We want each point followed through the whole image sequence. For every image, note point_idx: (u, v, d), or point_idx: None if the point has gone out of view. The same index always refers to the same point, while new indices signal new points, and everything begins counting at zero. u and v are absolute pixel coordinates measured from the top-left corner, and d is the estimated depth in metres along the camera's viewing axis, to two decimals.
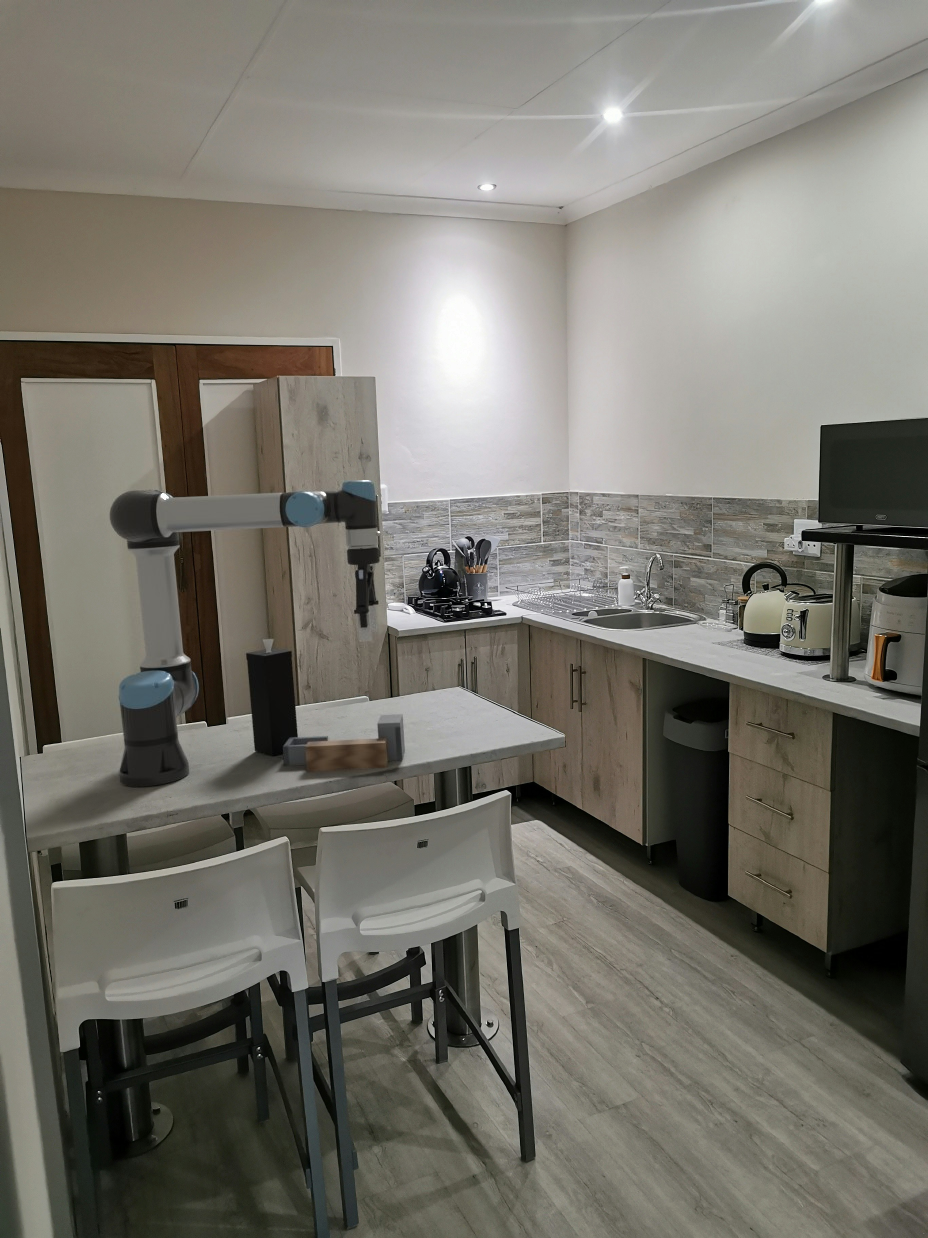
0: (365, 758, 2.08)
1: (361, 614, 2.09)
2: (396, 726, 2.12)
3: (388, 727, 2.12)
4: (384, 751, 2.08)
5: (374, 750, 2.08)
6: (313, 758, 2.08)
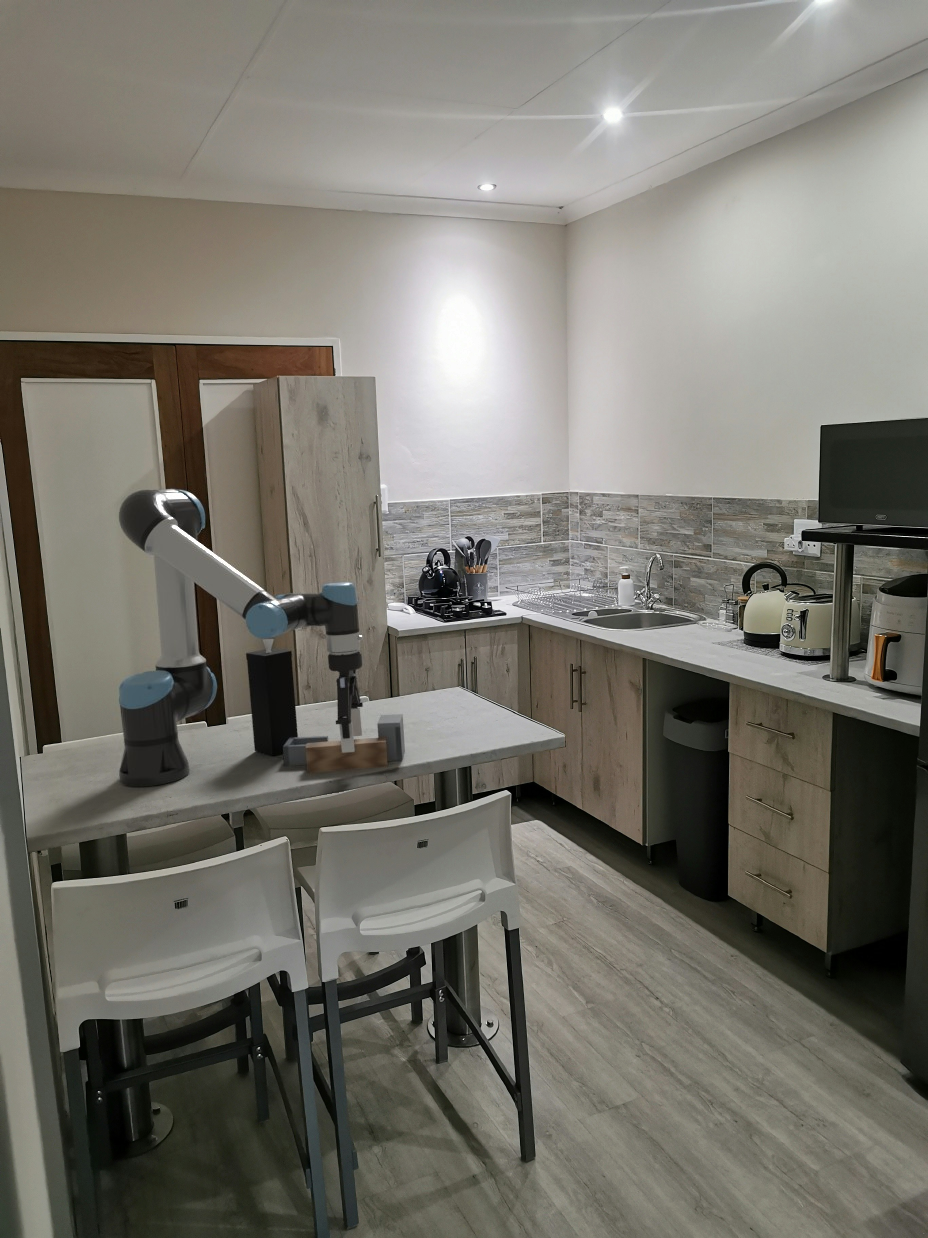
0: (366, 758, 2.08)
1: (343, 725, 2.00)
2: (396, 726, 2.12)
3: (388, 727, 2.12)
4: (385, 750, 2.08)
5: (375, 749, 2.08)
6: (313, 759, 2.07)
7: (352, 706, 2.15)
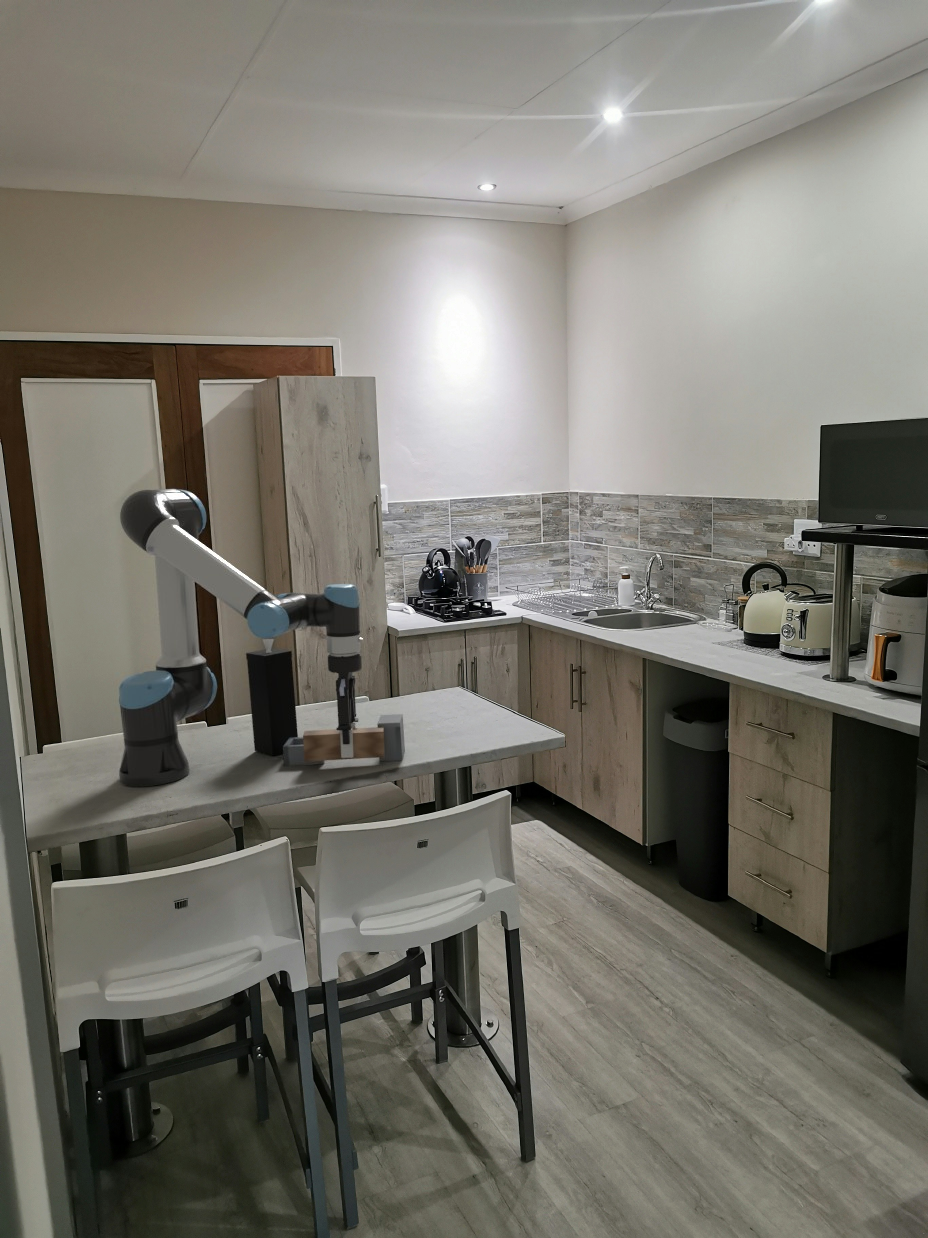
0: (363, 747, 2.08)
1: (343, 731, 2.05)
2: (396, 726, 2.12)
3: (388, 727, 2.12)
4: (382, 740, 2.08)
5: (372, 739, 2.08)
6: (310, 747, 2.07)
7: None
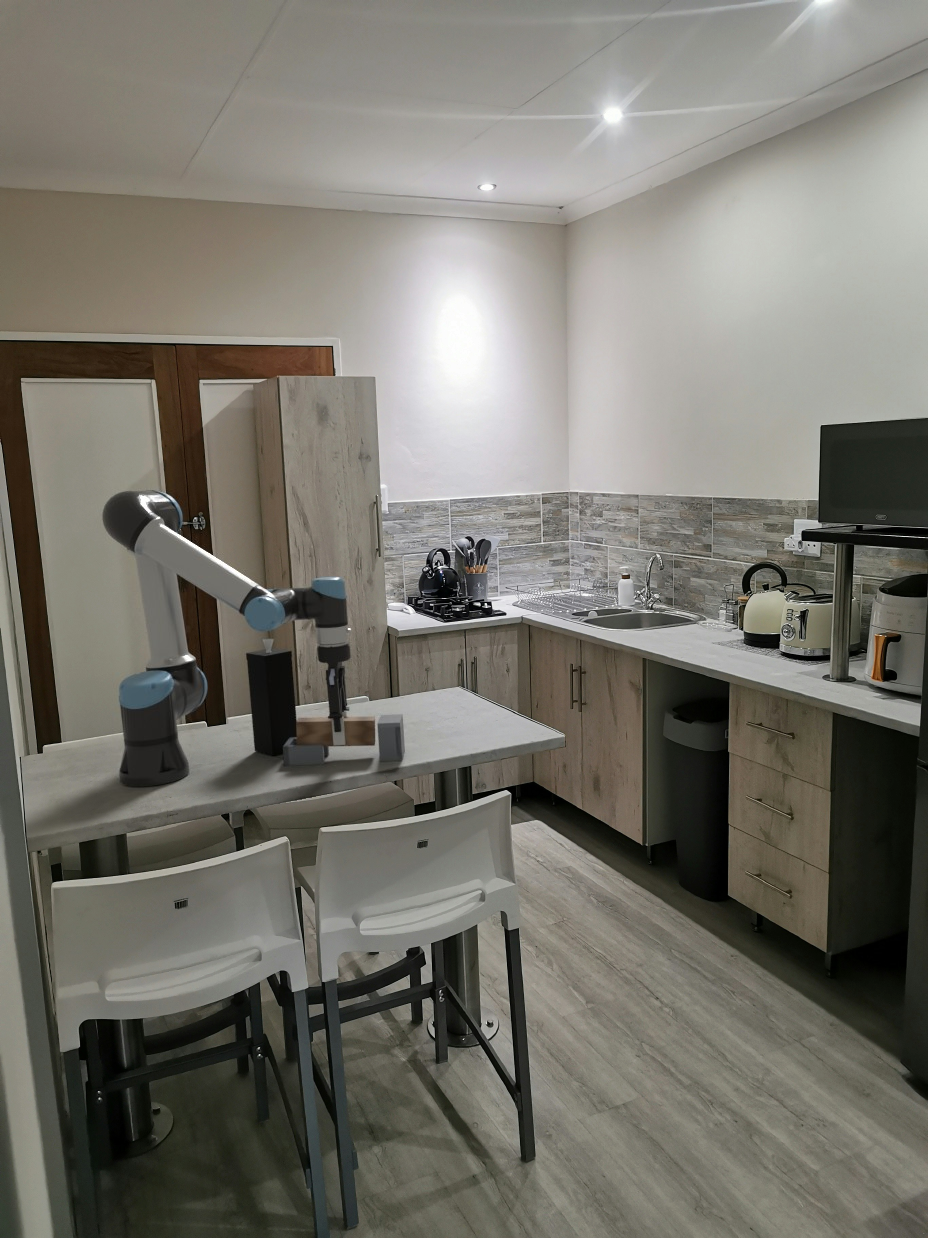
0: (354, 735, 2.14)
1: (335, 719, 2.12)
2: (396, 726, 2.12)
3: (388, 727, 2.12)
4: (373, 729, 2.14)
5: (363, 727, 2.14)
6: (303, 734, 2.14)
7: None
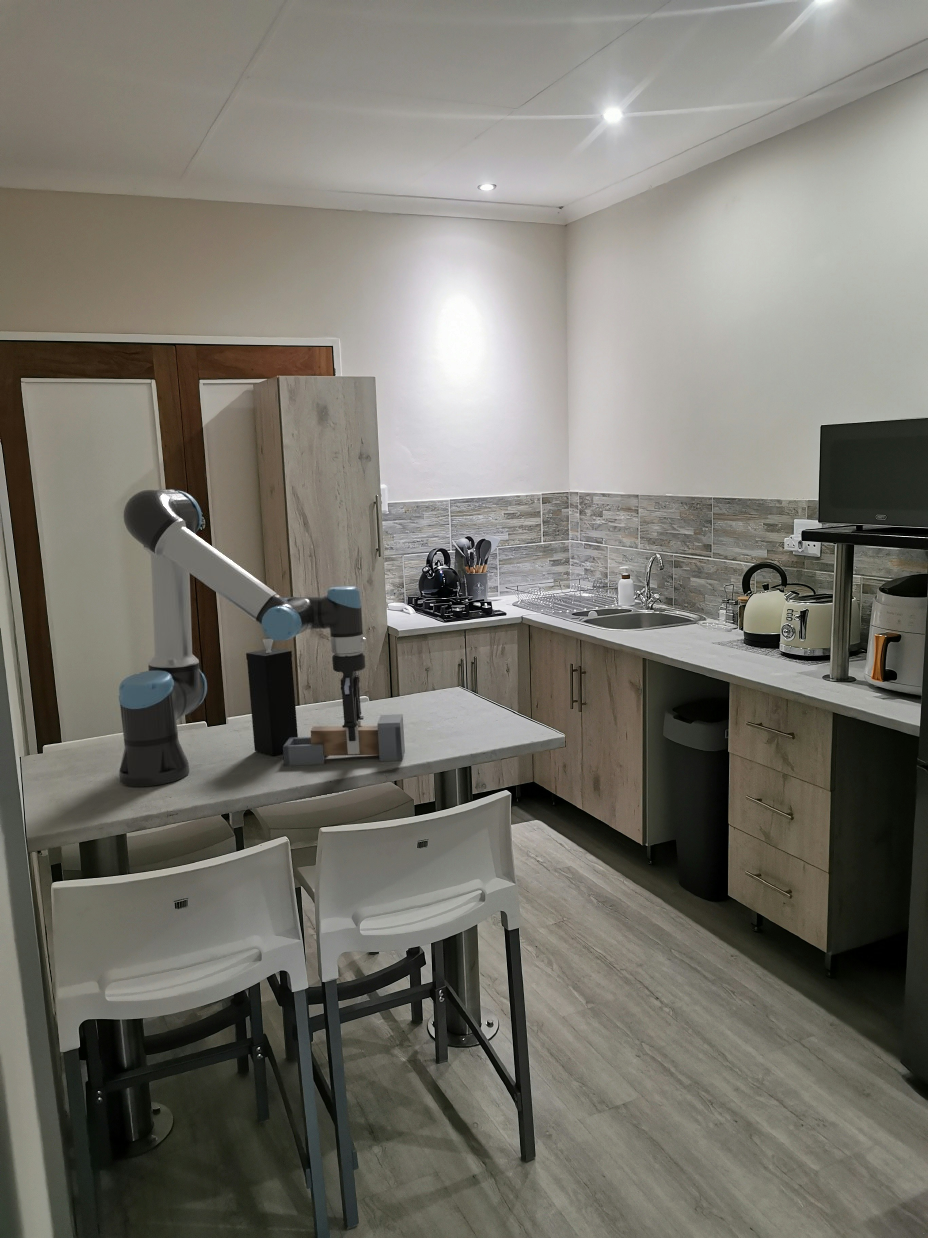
0: (368, 744, 2.15)
1: (349, 728, 2.12)
2: (396, 726, 2.12)
3: (388, 727, 2.12)
4: None
5: (377, 737, 2.15)
6: (317, 742, 2.14)
7: None
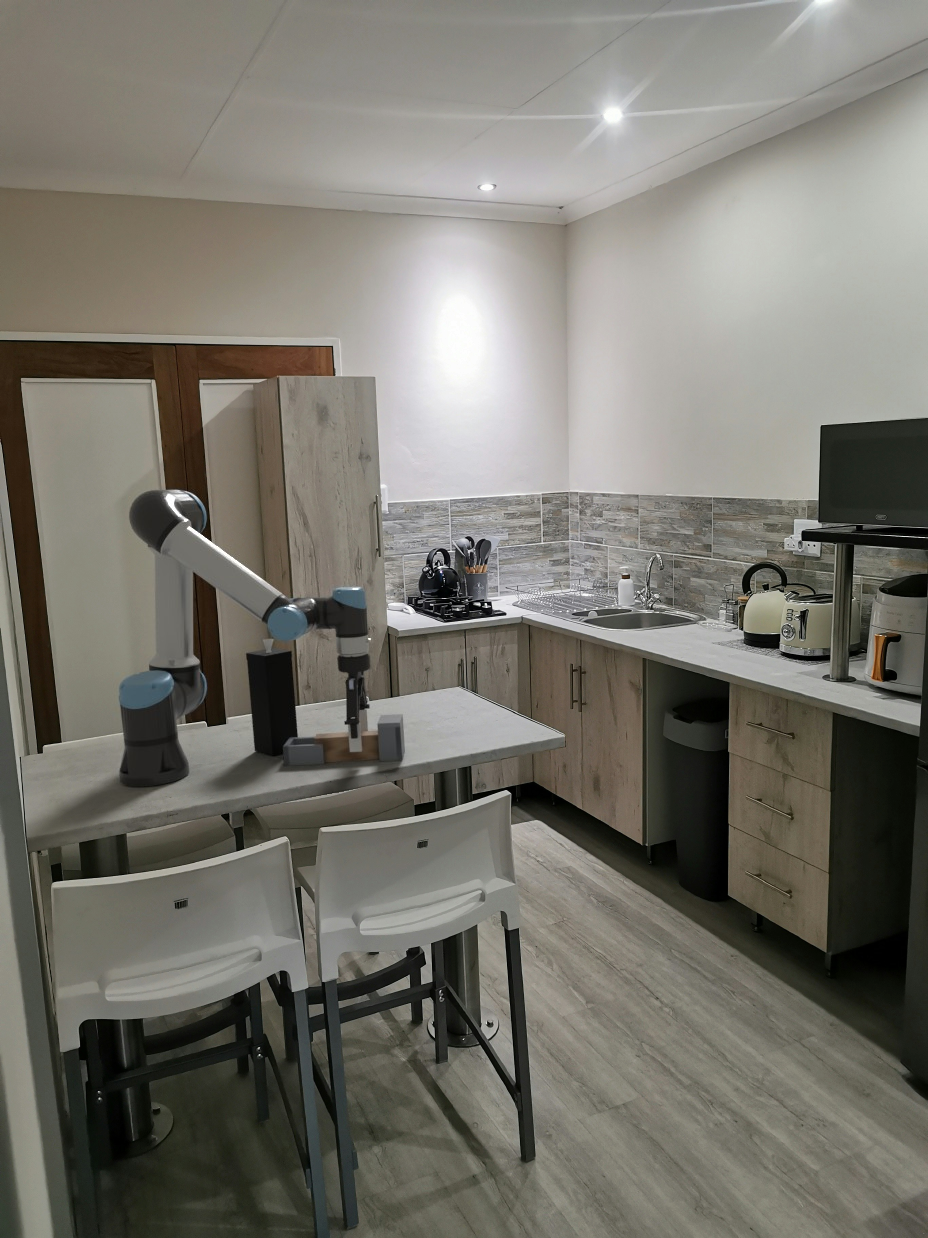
0: (373, 749, 2.15)
1: (351, 725, 2.08)
2: (396, 726, 2.12)
3: (388, 727, 2.12)
4: None
5: None
6: None
7: (359, 707, 2.22)
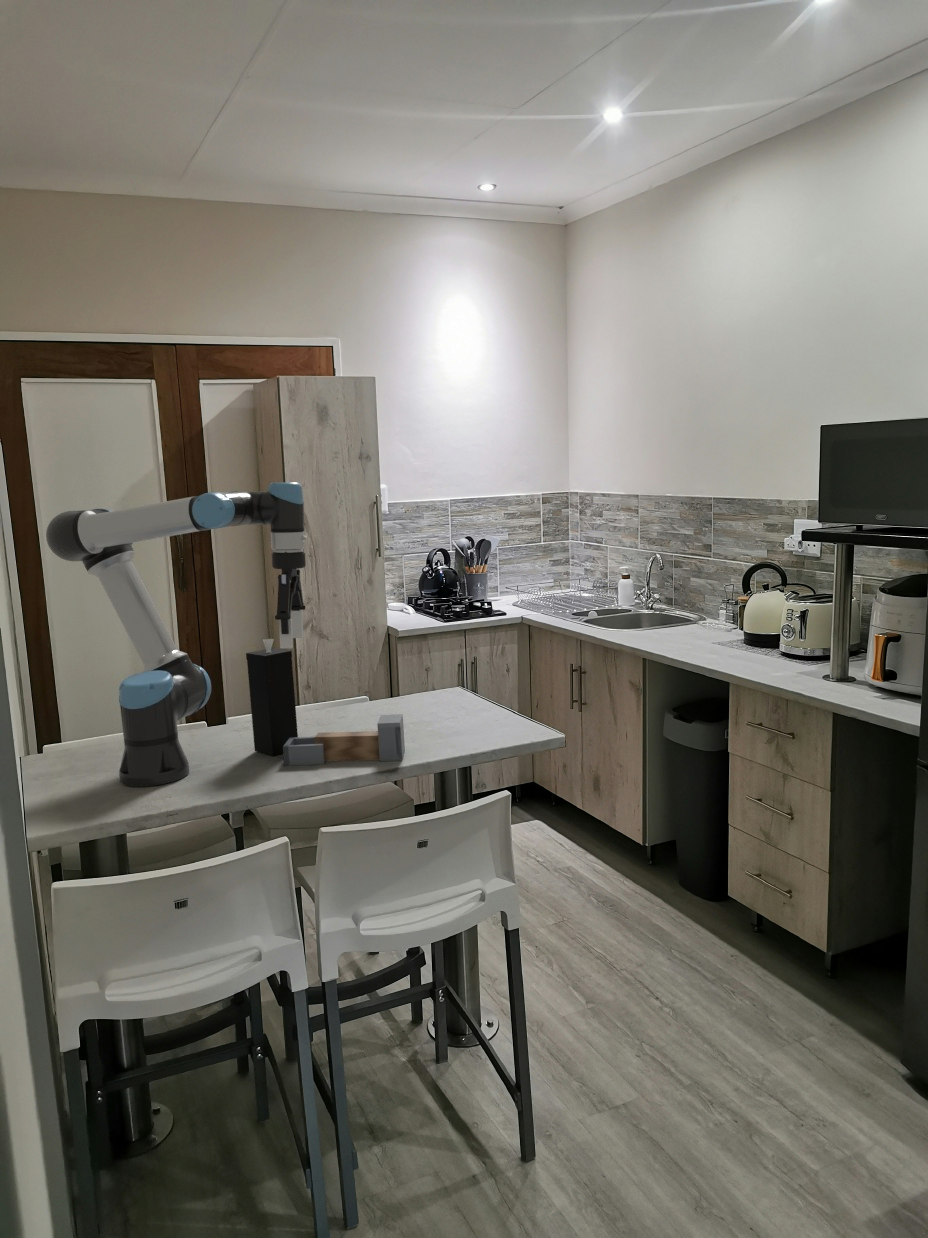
0: (371, 750, 2.14)
1: (282, 620, 2.03)
2: (396, 726, 2.12)
3: (388, 727, 2.12)
4: None
5: None
6: None
7: (295, 608, 2.18)
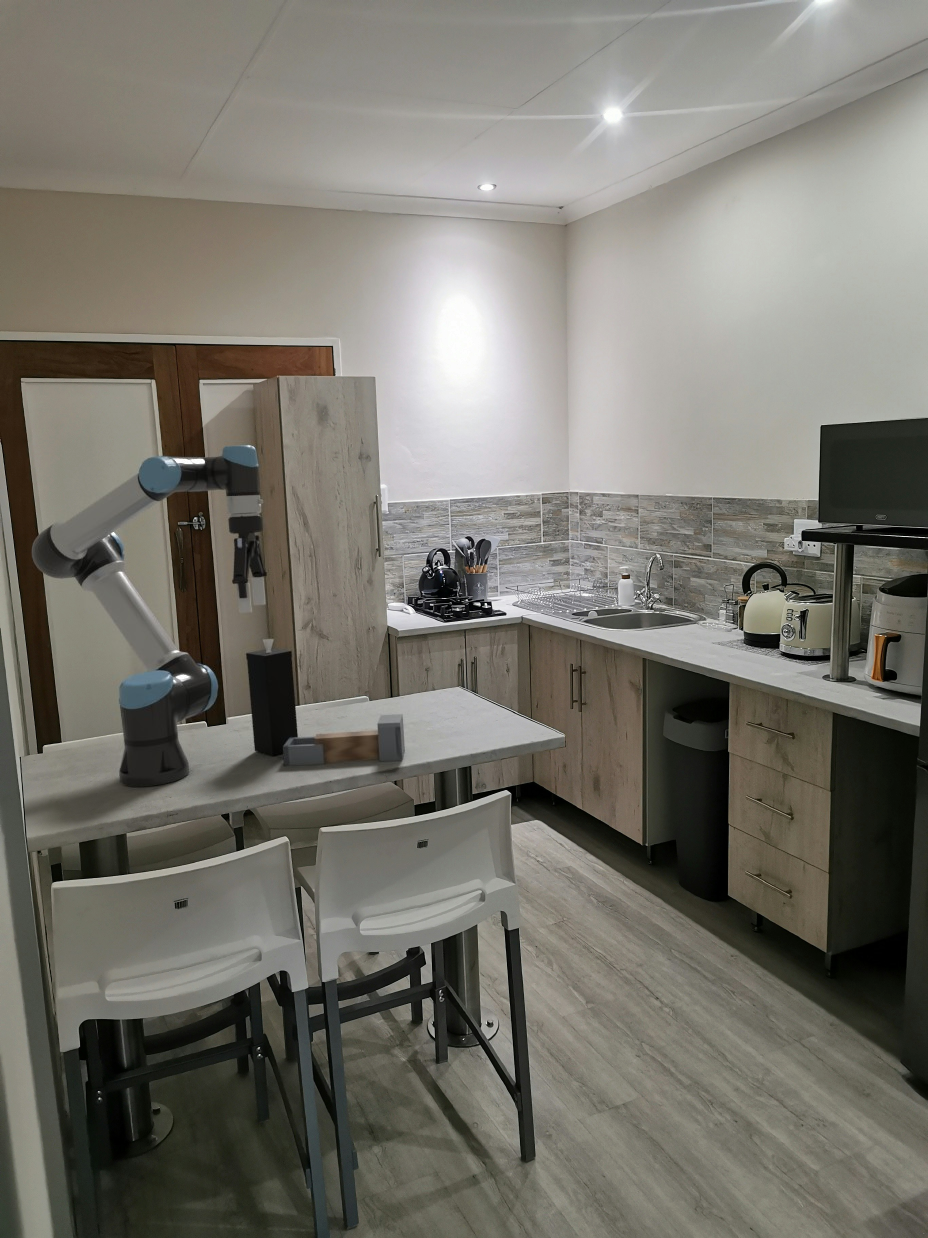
0: (373, 749, 2.15)
1: (239, 584, 2.01)
2: (396, 726, 2.12)
3: (388, 727, 2.12)
4: None
5: None
6: None
7: (256, 575, 2.16)
